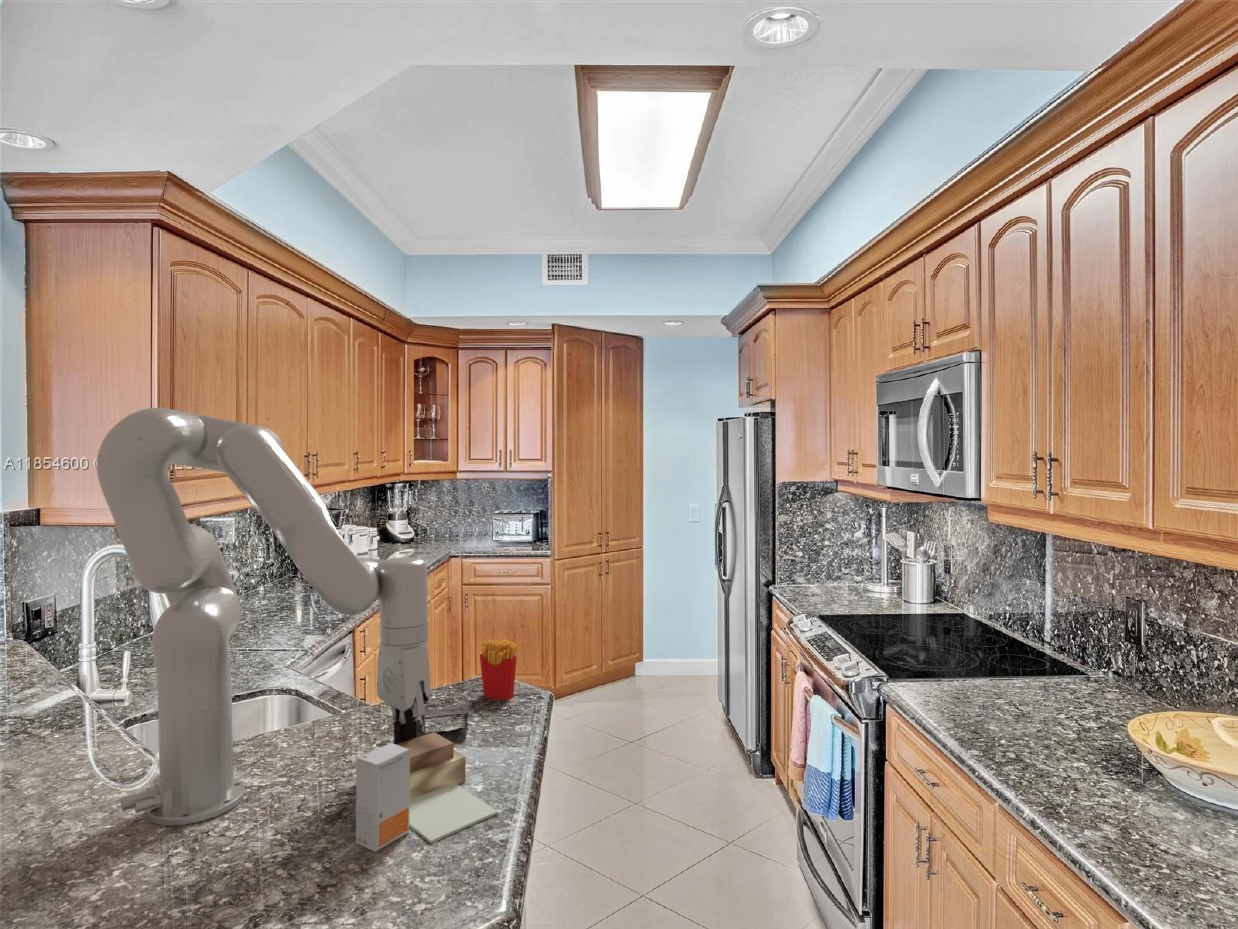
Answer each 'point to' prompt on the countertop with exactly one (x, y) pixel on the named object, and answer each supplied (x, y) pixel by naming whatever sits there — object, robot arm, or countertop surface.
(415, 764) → the walnut block
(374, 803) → the skincare box
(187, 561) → the robot arm
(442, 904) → the countertop surface
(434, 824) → the mat
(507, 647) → the french fries
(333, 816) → the countertop surface
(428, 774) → the platform
